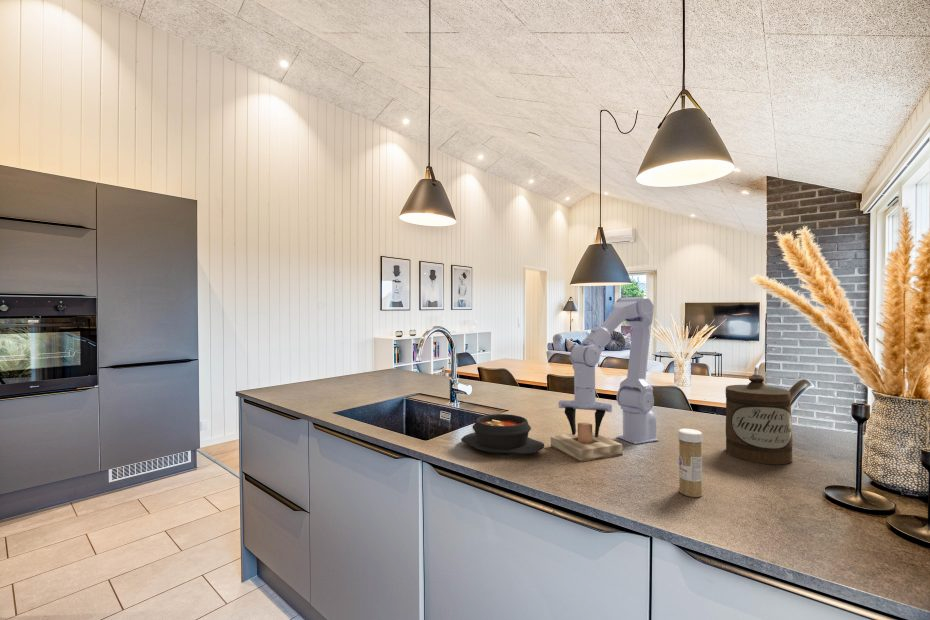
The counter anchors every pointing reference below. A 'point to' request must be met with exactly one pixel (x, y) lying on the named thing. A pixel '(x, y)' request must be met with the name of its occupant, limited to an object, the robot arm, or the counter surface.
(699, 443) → the sprinkles bottle
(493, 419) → the casserole
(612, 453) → the oak socket block
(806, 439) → the counter surface
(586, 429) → the terracotta peg
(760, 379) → the wooden container
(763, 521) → the counter surface
